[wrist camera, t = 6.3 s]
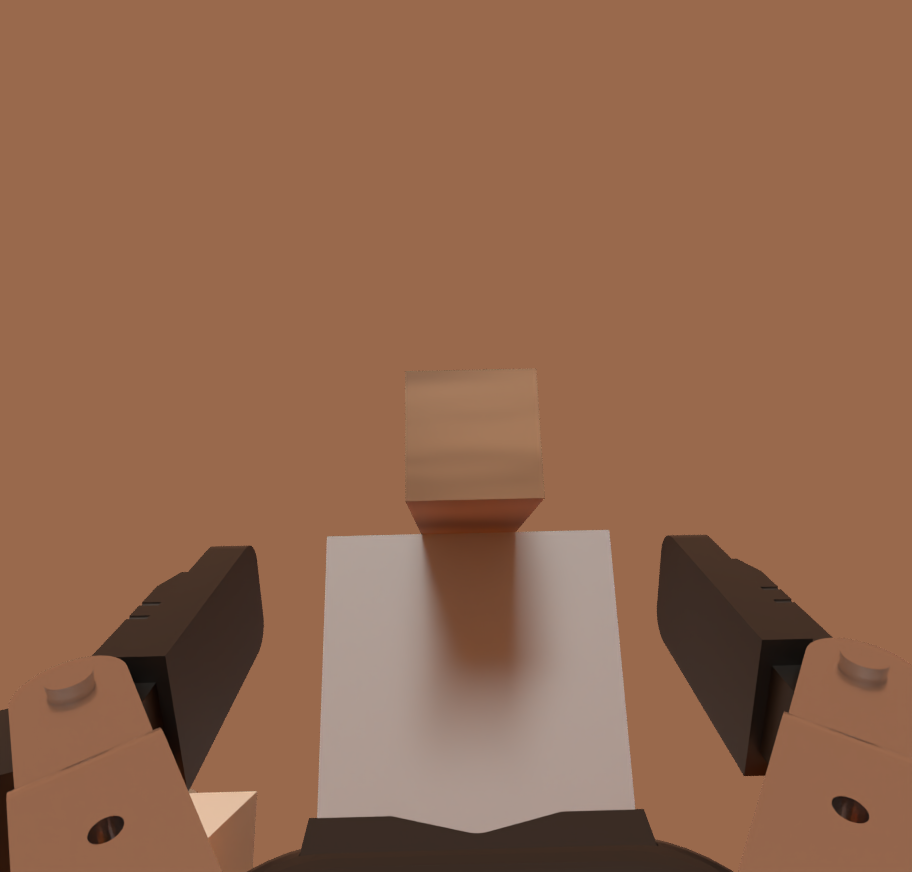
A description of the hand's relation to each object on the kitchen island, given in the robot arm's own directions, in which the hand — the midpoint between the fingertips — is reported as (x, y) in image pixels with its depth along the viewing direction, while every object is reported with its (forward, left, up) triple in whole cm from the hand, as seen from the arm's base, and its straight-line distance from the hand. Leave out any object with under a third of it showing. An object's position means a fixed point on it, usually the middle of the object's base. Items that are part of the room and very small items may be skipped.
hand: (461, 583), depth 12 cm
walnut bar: (-13, -10, +3) cm, 17 cm away
